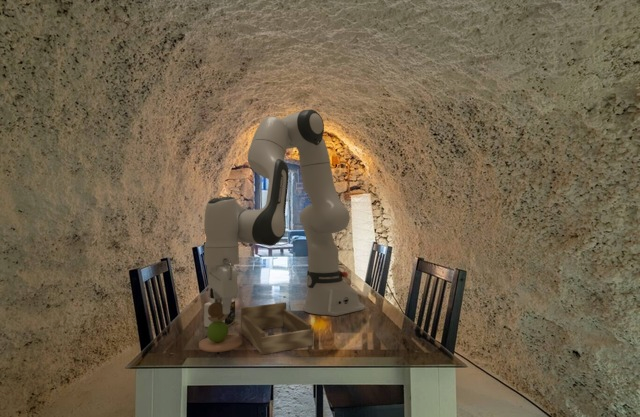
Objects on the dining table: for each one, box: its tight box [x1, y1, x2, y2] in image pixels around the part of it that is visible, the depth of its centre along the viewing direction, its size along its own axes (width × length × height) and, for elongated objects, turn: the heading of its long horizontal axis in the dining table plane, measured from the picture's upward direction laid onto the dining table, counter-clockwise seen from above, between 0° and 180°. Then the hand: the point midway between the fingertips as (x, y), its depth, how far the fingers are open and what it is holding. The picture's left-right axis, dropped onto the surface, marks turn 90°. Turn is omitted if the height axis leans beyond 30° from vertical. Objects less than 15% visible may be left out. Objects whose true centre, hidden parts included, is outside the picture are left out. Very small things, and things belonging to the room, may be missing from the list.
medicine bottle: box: [203, 287, 236, 328], centre depth 112 cm, size 7×7×12 cm
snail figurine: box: [206, 302, 232, 342], centre depth 94 cm, size 5×6×12 cm
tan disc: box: [198, 334, 243, 353], centre depth 94 cm, size 11×11×1 cm
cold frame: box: [240, 302, 314, 356], centre depth 99 cm, size 14×20×7 cm
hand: (221, 309), depth 94 cm, fingers open, 8 cm apart
